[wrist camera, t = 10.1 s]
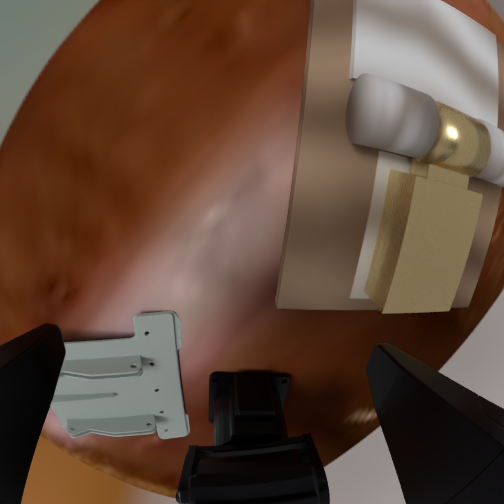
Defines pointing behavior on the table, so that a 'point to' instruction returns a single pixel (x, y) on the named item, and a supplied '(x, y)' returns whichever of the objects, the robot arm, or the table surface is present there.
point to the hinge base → (346, 181)
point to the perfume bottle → (430, 220)
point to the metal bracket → (124, 382)
